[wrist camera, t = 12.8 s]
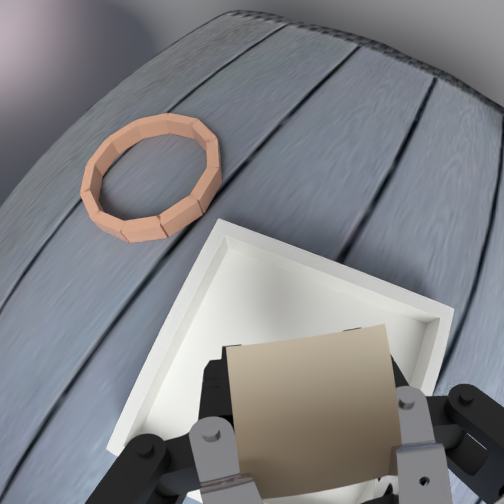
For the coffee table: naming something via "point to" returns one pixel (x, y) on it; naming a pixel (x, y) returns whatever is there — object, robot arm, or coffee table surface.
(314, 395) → the birch block
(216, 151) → the orange ring
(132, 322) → the coffee table surface
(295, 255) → the tray
